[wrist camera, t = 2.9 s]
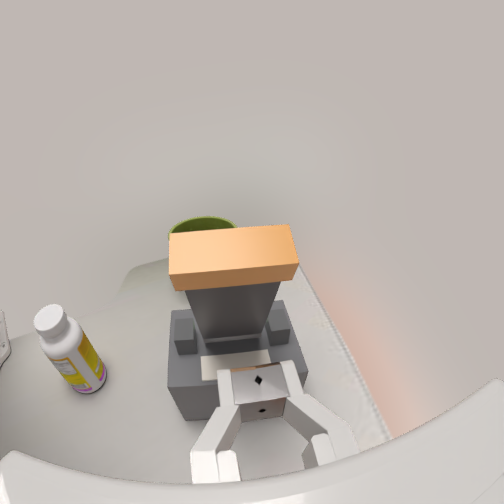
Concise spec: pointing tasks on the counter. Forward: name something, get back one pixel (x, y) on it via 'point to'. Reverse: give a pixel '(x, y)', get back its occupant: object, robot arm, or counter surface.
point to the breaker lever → (232, 276)
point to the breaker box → (223, 358)
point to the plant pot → (202, 224)
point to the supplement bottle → (69, 349)
